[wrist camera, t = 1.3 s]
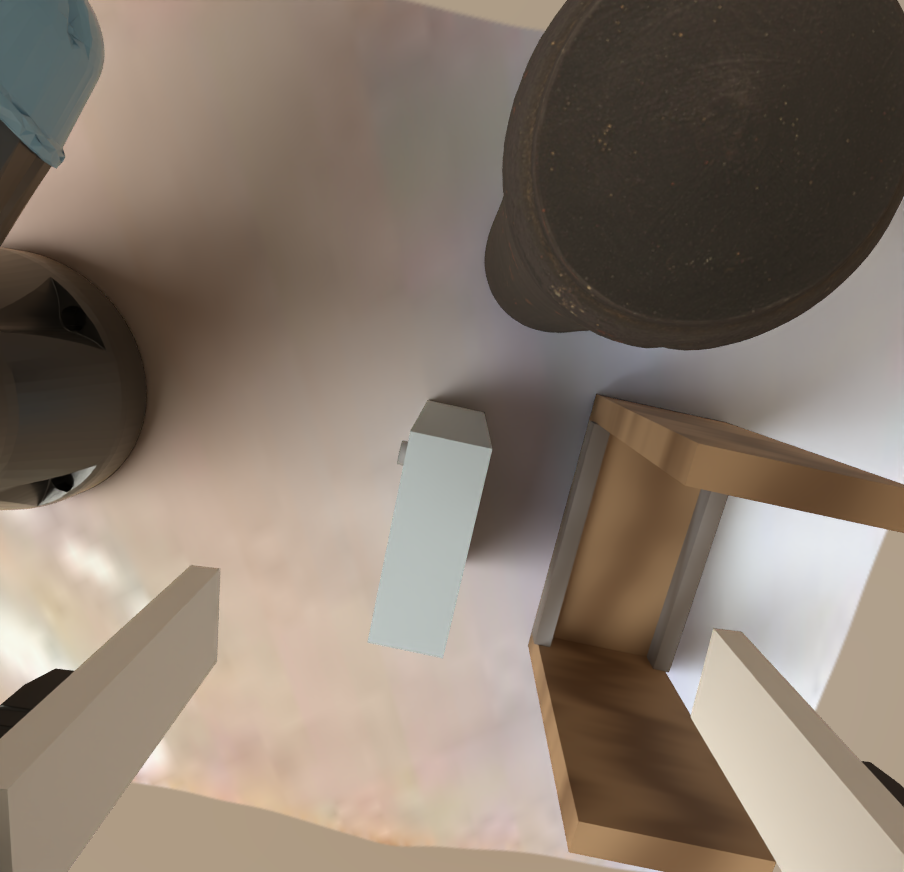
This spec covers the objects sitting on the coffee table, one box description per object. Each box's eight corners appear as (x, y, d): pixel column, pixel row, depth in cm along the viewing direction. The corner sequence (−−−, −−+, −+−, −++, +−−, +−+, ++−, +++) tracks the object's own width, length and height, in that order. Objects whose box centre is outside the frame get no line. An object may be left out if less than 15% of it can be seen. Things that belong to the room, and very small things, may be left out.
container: (651, 314, 30) (994, 283, 11) (500, 356, 31) (559, 400, 11) (620, 158, 29) (952, -218, 9) (461, 206, 29) (452, -45, 10)
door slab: (388, 549, 34) (355, 640, 24) (418, 398, 32) (397, 428, 22) (449, 562, 34) (442, 658, 24) (484, 412, 32) (492, 448, 22)
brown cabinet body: (524, 644, 35) (562, 850, 21) (592, 393, 31) (690, 441, 17) (649, 670, 35) (769, 893, 21) (730, 423, 31) (936, 495, 18)
